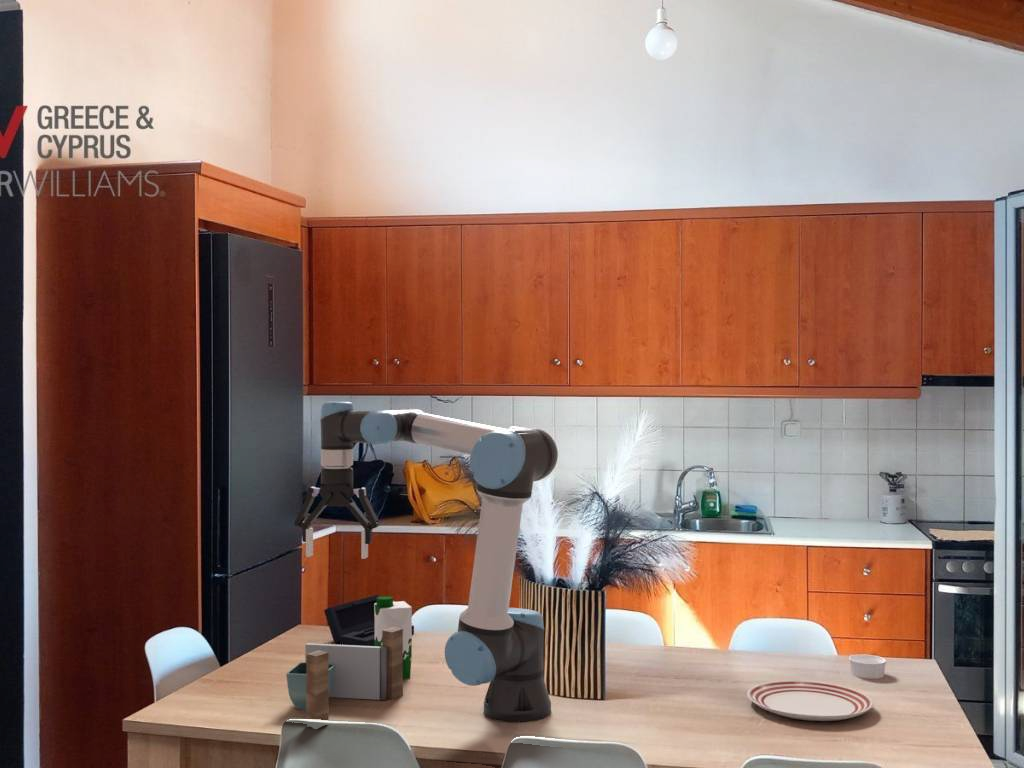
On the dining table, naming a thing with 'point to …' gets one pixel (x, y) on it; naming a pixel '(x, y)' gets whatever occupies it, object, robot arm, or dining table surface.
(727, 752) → the dining table surface
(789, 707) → the dinner plate
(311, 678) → the door frame
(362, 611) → the storage box
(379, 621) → the milk carton
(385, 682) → the door
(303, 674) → the flower pot
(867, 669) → the ramekin
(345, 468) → the robot arm
